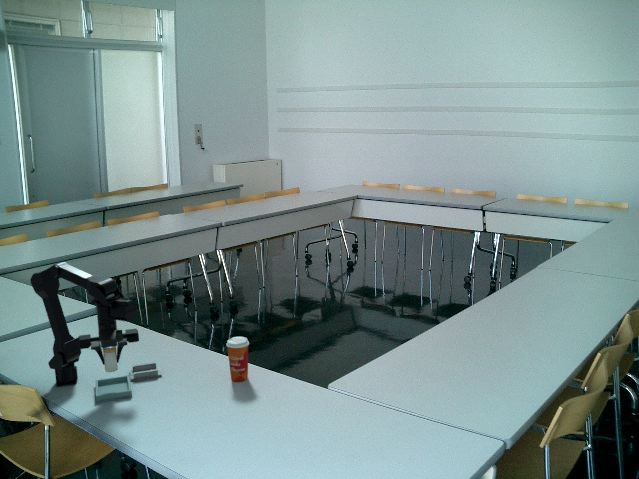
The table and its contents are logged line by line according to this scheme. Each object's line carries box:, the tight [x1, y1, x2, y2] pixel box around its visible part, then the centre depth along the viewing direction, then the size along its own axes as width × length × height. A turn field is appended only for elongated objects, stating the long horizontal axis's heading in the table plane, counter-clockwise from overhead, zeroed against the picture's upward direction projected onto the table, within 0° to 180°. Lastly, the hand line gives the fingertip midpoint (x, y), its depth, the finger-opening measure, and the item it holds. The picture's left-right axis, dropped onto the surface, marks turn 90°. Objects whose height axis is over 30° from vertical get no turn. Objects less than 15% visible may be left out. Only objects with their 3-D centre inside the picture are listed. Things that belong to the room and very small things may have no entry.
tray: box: [94, 374, 133, 403], centre depth 213 cm, size 11×13×2 cm
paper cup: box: [225, 336, 250, 383], centre depth 220 cm, size 8×8×14 cm
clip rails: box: [128, 361, 163, 382], centre depth 226 cm, size 10×8×2 cm
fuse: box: [102, 346, 119, 373], centre depth 211 cm, size 4×4×8 cm
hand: (110, 363), depth 211 cm, fingers closed on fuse, 4 cm apart
